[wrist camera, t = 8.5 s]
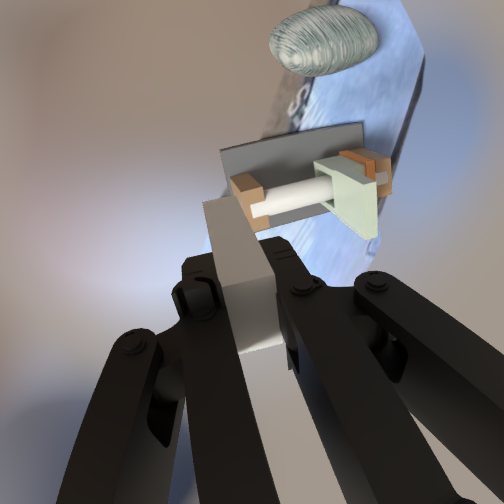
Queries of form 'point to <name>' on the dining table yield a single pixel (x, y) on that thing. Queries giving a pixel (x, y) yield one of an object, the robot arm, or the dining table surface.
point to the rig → (293, 173)
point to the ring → (362, 162)
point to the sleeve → (351, 194)
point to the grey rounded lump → (323, 40)
